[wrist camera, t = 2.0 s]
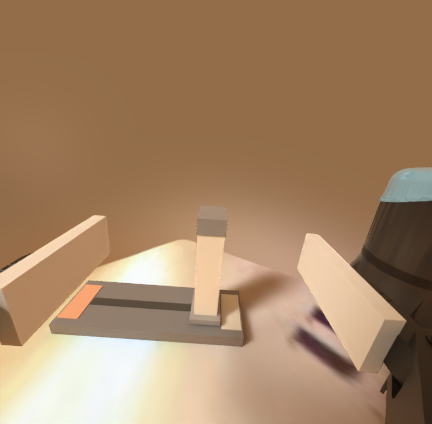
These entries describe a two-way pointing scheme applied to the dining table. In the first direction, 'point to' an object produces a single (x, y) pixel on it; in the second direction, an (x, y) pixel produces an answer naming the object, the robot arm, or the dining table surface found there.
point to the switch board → (146, 314)
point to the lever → (208, 265)
